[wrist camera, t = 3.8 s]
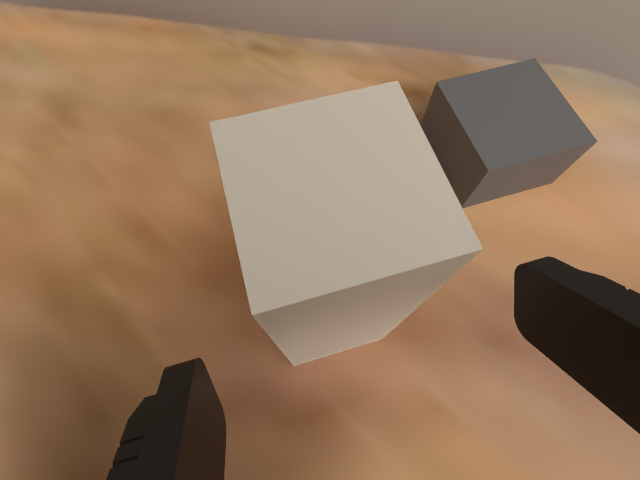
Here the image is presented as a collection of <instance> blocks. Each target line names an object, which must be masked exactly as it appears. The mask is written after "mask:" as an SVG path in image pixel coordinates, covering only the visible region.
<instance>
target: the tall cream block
mask: <svg viewBox="0 0 640 480" xmlns="http://www.w3.org/2000/svg"><path fill="white" fill-rule="evenodd" d="M209 123H210V127H211V132H212V136H213V141H214V146H215V150H216V155H217V159H218V164H219V168H220V173H221V178H222V182H223V187H224V191H225V196H226V200H227V205H228V210H229V214H230V219H231V223H232V228H233V232H234V237H235V242H236V246H237V251H238V255H239V260H240V264H241V269H242V274H243V278H244V283H245V287H246V292H247V296H248V301H249V306H250V310H251V315H252V316H253V318H254V319H255V320H256V321H257V322H258V324H259V325H260V326H261V327H262V328H263V330H264V331H265V332H266V333H267V335H268V336H269V337H270V338H271V339H272V341H273V342H274V343H275V344H276V345H277V347H278V348H279V349H280V350H281V351H282V353H283V354H284V355H285V356H286V357H287V359H288V360H289V361H290V362H291V363H292V365H293V366H297V365H300V364H303V363H307V362H310V361H313V360H316V359H320V358H323V357H326V356H330V355H333V354H336V353H339V352H343V351H346V350H349V349H352V348H356V347H359V346H362V345H365V344H369V343H372V342H375V341H378V340H382V339H383V338H384V337H385V336H386V335H387V334H388V333H390V332H391V331H392V330H393V329H394V328H395V327H396V326H397V325H399V324H400V323H401V322H402V321H403V320H404V319H405V318H406V317H408V316H409V315H410V314H411V313H412V312H413V311H414V310H415V309H417V308H418V307H419V306H420V305H421V304H422V303H423V302H424V301H426V300H427V299H428V298H429V297H430V296H431V295H432V294H433V293H434V292H436V291H437V290H438V289H439V288H440V287H441V286H442V285H443V284H445V283H446V282H447V281H448V280H449V279H450V278H451V277H452V276H454V275H455V274H456V273H457V272H458V271H459V270H460V269H461V268H463V267H464V266H465V265H466V264H467V263H468V262H469V261H470V260H472V259H473V258H474V257H475V256H476V255H477V254H478V253H479V252H480V251H482V250H483V248H482V246H481V244H480V242H479V240H478V238H477V236H476V234H475V232H474V230H473V228H472V226H471V224H470V222H469V220H468V218H467V216H466V214H465V212H464V210H463V208H462V206H461V204H460V202H459V200H458V199H457V197H456V195H455V193H454V191H453V189H452V187H451V185H450V183H449V181H448V179H447V177H446V175H445V173H444V171H443V169H442V167H441V165H440V163H439V161H438V159H437V157H436V155H435V153H434V151H433V149H432V147H431V145H430V143H429V141H428V139H427V137H426V136H425V134H424V132H423V130H422V128H421V126H420V124H419V122H418V120H417V118H416V116H415V114H414V112H413V110H412V108H411V106H410V104H409V102H408V100H407V98H406V96H405V94H404V92H403V90H402V88H401V86H400V84H399V82H398V81H393V82H389V83H384V84H379V85H375V86H370V87H366V88H361V89H357V90H352V91H348V92H343V93H339V94H334V95H330V96H325V97H321V98H316V99H312V100H307V101H302V102H298V103H293V104H289V105H284V106H280V107H275V108H271V109H266V110H262V111H257V112H253V113H248V114H244V115H239V116H235V117H230V118H226V119H221V120H216V121H212V122H209Z"/></svg>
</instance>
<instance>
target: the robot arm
mask: <svg viewBox="0 0 640 480" xmlns="http://www.w3.org/2000/svg"><path fill="white" fill-rule="evenodd" d="M514 318H515V322H516V325H517V327H518V329H519V331H520V333H521V334H522V336H523V337H524V338H525V339H526V340H527V341H528V342H530V343H531V344H532V345H533V346H534V347H536V348H537V349H538V350H539V351H540V352H542V353H543V354H544V355H545V356H546V357H548V358H549V359H550V360H551V361H552V362H554V363H555V364H556V365H557V366H559V367H560V368H561V369H562V370H563V371H565V372H566V373H567V374H568V375H569V376H571V377H572V378H573V379H574V380H575V381H577V382H578V383H579V384H580V385H581V386H583V387H584V388H585V389H586V390H587V391H589V392H590V393H591V394H592V395H593V396H595V397H596V398H597V399H598V400H599V401H601V402H602V403H603V404H604V405H605V406H607V407H608V408H609V409H610V410H611V411H613V412H614V413H615V414H616V415H618V416H619V417H620V418H621V419H622V420H624V421H625V422H626V423H627V424H628V425H630V426H631V427H632V428H633V429H634V430H636V431H637V432H638V433H639V434H640V294H639V293H637V292H635V291H633V290H631V289H629V290H627V289H626V288H625V287H624V286H622V285H620V284H618V283H616V282H614V281H612V280H610V279H608V278H606V277H604V276H600V275H597V274H593V273H589V272H585V271H581V270H578V269H576V268H574V267H572V266H570V265H568V264H566V263H564V262H562V261H560V260H558V259H556V258H553V257H544V258H541V259H537V260H534V261H530V262H527V263H524V264H520V265H518V266H517V267H516V269H515V275H514ZM225 449H226V423H225V417H224V412H223V408H222V405H221V403H220V400H219V398H218V396H217V393H216V391H215V388H214V386H213V384H212V381H211V379H210V376H209V374H208V372H207V369H206V367H205V364H204V362H203V361H202V359H200V358H196V359H193V360H189V361H186V362H183V363H179V364H176V365H172V366H169V367H166V368H165V369H164V371H163V374H162V378H161V381H160V384H159V388H158V391H157V394H155V395H152V396H149V397H145V398H144V399H143V401H142V402H141V403H140V405H139V406H138V407H137V409H136V410H135V411H134V413H133V414H132V415H131V417H130V418H129V419H128V422H127V424H126V427H125V430H124V433H123V435H122V438H121V441H120V447H119V448H118V449H117V452H116V455H115V458H114V460H113V468H111V469H110V471H109V474H108V477H107V480H224V469H225Z"/></svg>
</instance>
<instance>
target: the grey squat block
mask: <svg viewBox="0 0 640 480" xmlns="http://www.w3.org/2000/svg"><path fill="white" fill-rule="evenodd" d="M421 128H422V130H423V132H424V134H425V136H426V137H427V139H428V141H429V143H430V145H431V147H432V149H433V151H434V153H435V155H436V157H437V159H438V161H439V163H440V165H441V167H442V169H443V171H444V173H445V175H446V177H447V179H448V181H449V183H450V185H451V187H452V189H453V191H454V193H455V195H456V197H457V199H458V200H459V202H460V204H461V206H462V208H465V207H468V206H472V205H475V204H479V203H483V202H486V201H490V200H493V199H497V198H500V197H504V196H507V195H511V194H514V193H518V192H522V191H525V190H529V189H532V188H536V187H539V186H543V185H546V184H550V183H552V182H554V181H555V180H556V179H557V178H558V177H559V176H560V175H561V174H562V173H563V172H564V171H565V170H567V169H568V168H569V167H570V166H571V165H572V164H573V163H574V162H575V161H576V160H577V159H579V158H580V157H581V156H582V155H583V154H584V153H585V152H586V151H587V150H588V149H589V148H590V147H592V146H593V145H594V144H595V143H596V142H597V140H596V139H595V138H594V136H593V135H592V134H591V132H590V131H589V130H588V128H587V127H586V126H585V124H584V123H583V122H582V120H581V119H580V118H579V116H578V115H577V114H576V112H575V111H574V110H573V108H572V107H571V106H570V104H569V103H568V102H567V100H566V99H565V98H564V96H563V95H562V94H561V92H560V91H559V90H558V88H557V87H556V86H555V84H554V83H553V82H552V80H551V79H550V78H549V76H548V75H547V74H546V72H545V71H544V70H543V68H542V67H541V66H540V64H539V63H538V62H537V60H536V59H531V60H526V61H522V62H518V63H514V64H510V65H506V66H501V67H497V68H493V69H489V70H485V71H480V72H476V73H472V74H468V75H464V76H459V77H455V78H451V79H447V80H443V81H438V82H436V85H435V88H434V91H433V93H432V96H431V99H430V101H429V104H428V107H427V110H426V112H425V115H424V118H423V120H422V123H421Z"/></svg>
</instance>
